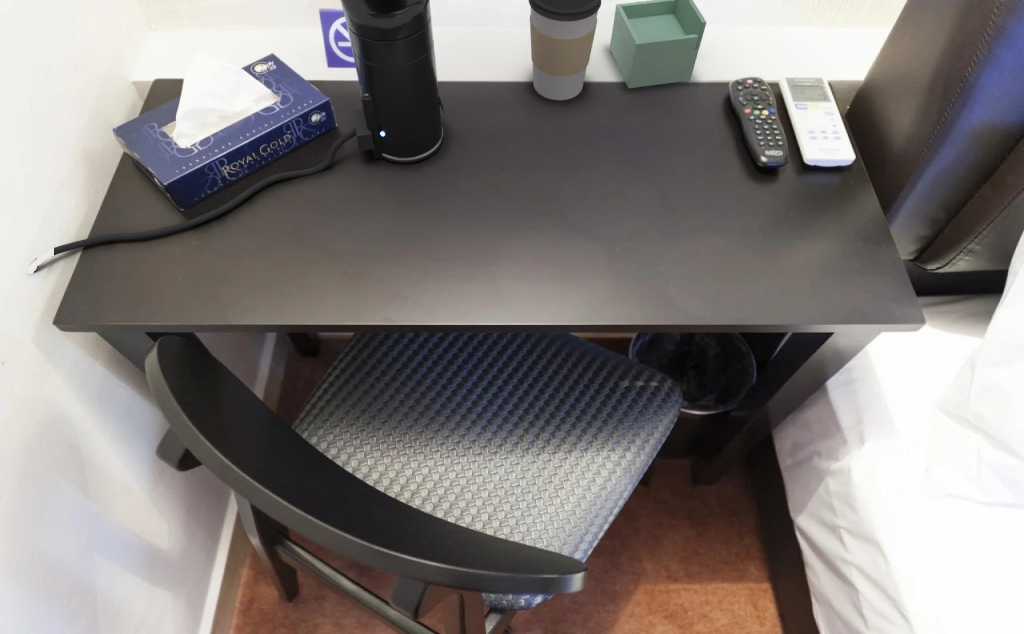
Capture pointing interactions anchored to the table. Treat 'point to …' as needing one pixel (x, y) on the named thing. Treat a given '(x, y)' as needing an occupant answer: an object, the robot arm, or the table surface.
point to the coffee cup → (561, 45)
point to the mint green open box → (656, 41)
